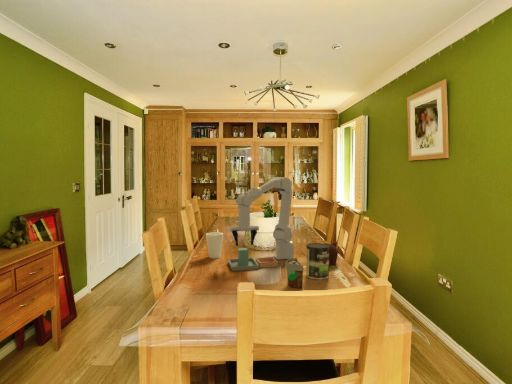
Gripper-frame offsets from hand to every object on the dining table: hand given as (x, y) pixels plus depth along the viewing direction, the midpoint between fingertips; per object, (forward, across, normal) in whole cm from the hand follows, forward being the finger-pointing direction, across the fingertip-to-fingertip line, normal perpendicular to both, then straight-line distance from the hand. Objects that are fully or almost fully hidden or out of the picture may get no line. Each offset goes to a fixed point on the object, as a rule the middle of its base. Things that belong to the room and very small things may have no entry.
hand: (244, 245), depth 169 cm
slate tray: (+10, -1, -1) cm, 10 cm away
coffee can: (+11, +29, -24) cm, 39 cm away
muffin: (+11, +42, -6) cm, 44 cm away
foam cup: (+10, -13, +20) cm, 26 cm away
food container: (+10, +14, -33) cm, 38 cm away
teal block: (+10, -1, -1) cm, 10 cm away
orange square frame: (+10, +11, -1) cm, 15 cm away
